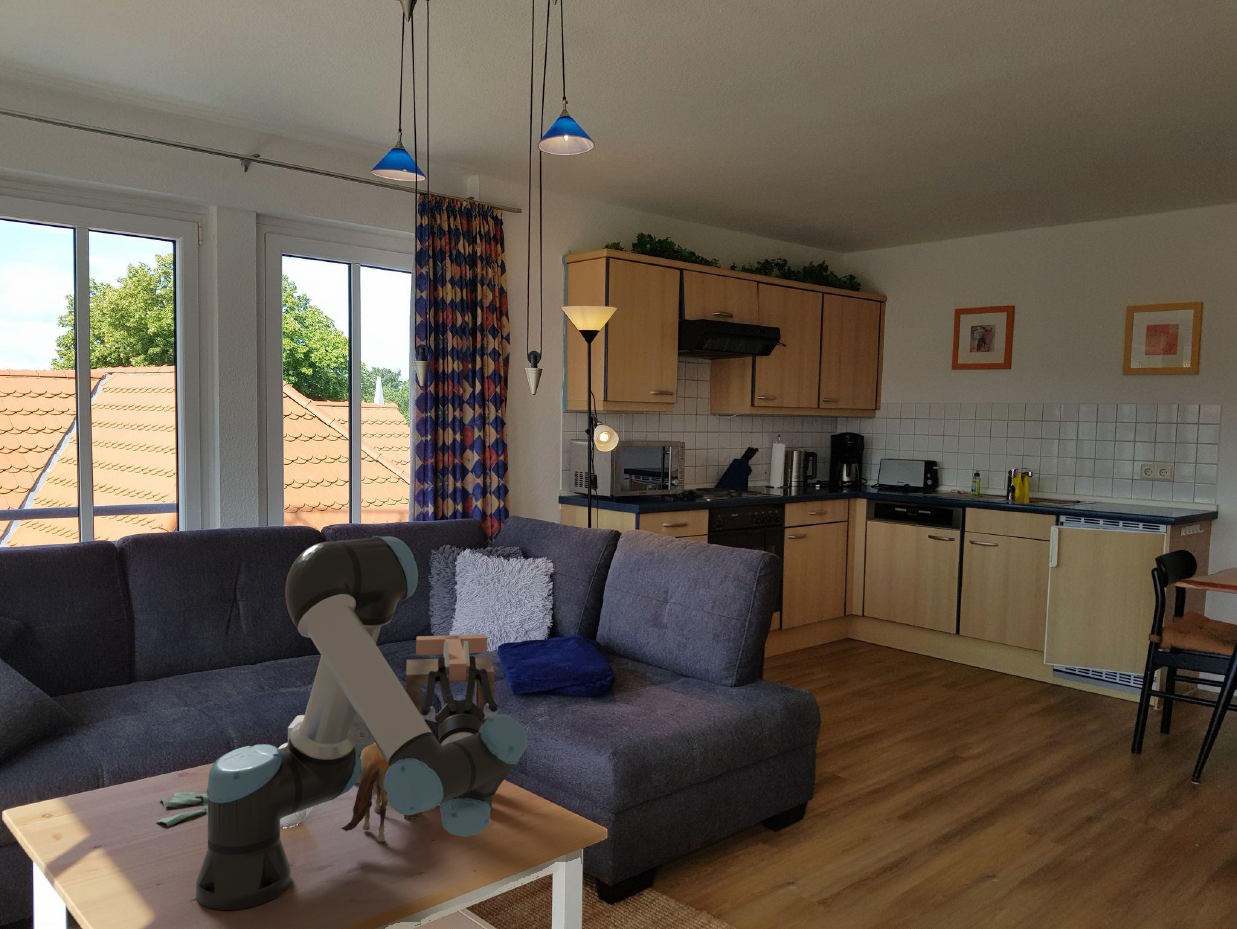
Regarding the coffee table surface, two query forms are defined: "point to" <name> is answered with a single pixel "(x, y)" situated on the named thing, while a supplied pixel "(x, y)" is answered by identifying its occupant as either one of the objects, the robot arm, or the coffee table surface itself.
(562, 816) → the coffee table surface
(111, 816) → the coffee table surface
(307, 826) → the coffee table surface
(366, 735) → the coffee box
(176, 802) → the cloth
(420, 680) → the walnut table
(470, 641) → the terracotta T
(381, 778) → the horse figurine
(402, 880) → the coffee table surface
